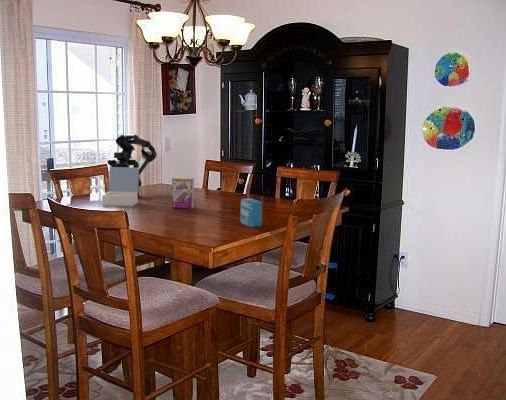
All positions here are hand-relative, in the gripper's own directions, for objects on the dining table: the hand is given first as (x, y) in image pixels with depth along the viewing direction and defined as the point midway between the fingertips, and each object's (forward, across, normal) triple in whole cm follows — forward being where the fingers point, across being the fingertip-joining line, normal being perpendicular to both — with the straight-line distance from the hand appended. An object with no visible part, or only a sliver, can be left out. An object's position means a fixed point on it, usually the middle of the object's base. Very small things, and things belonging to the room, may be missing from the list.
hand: (119, 176), depth 308 cm
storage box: (+19, +9, -3) cm, 21 cm away
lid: (+4, +7, -4) cm, 9 cm away
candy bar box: (+17, +45, +3) cm, 48 cm away
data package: (+32, +94, -17) cm, 101 cm away
